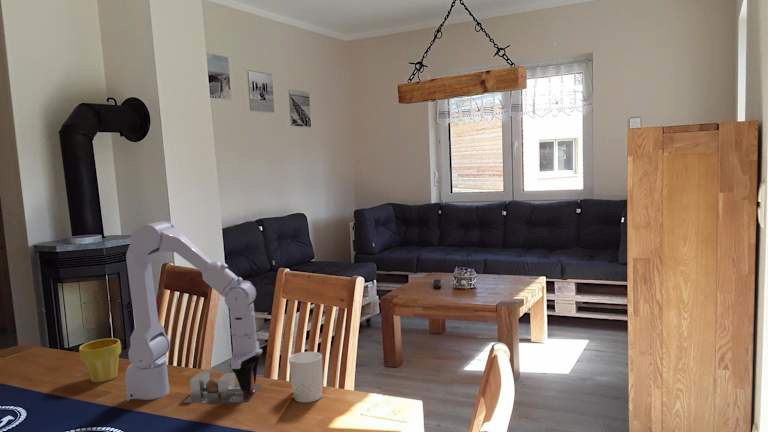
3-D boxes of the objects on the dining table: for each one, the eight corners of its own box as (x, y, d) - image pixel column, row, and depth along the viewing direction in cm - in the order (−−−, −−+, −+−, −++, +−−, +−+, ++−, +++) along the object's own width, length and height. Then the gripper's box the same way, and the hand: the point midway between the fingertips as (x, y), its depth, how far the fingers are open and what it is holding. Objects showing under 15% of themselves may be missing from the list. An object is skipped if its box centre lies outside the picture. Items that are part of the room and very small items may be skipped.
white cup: (318, 404, 140) (316, 362, 139) (286, 403, 142) (283, 362, 141) (328, 391, 148) (326, 351, 147) (298, 390, 150) (295, 351, 149)
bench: (183, 407, 143) (181, 384, 142) (202, 389, 154) (200, 367, 153) (248, 406, 141) (246, 383, 141) (262, 388, 152) (261, 367, 151)
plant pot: (73, 383, 163) (69, 348, 162) (104, 370, 173) (101, 336, 172) (102, 387, 159) (98, 351, 158) (132, 373, 169) (128, 339, 168)
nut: (204, 396, 146) (202, 381, 146) (209, 390, 150) (208, 376, 149) (218, 395, 146) (217, 381, 145) (223, 390, 149) (222, 376, 149)
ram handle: (219, 395, 145) (217, 375, 145) (226, 387, 150) (224, 368, 149) (251, 395, 144) (249, 375, 144) (257, 387, 149) (256, 368, 148)
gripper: (250, 341, 138) (254, 399, 139) (269, 323, 152) (273, 375, 153) (220, 342, 138) (225, 399, 140) (242, 324, 153) (246, 376, 154)
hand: (248, 387), depth 147 cm, fingers closed on ram handle, 3 cm apart
